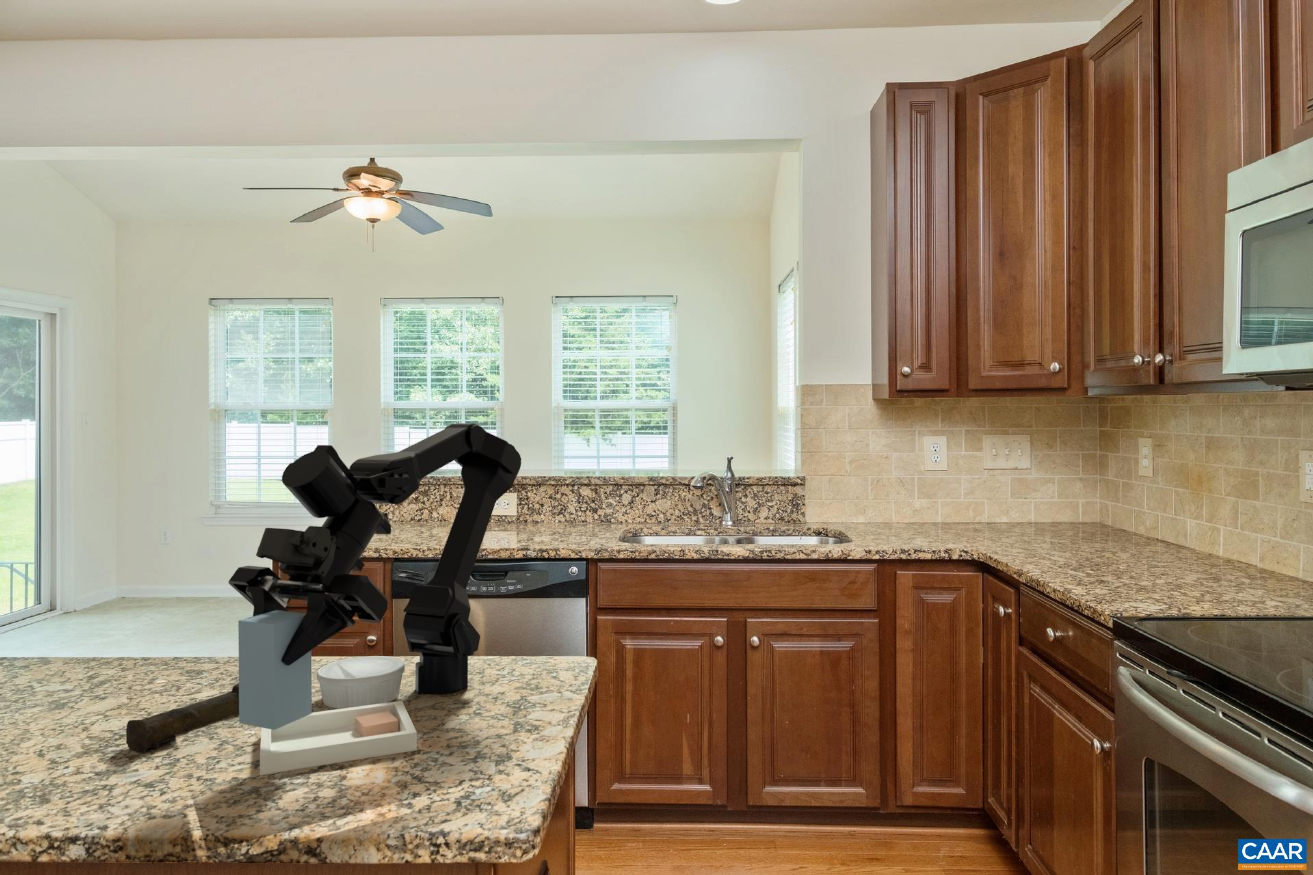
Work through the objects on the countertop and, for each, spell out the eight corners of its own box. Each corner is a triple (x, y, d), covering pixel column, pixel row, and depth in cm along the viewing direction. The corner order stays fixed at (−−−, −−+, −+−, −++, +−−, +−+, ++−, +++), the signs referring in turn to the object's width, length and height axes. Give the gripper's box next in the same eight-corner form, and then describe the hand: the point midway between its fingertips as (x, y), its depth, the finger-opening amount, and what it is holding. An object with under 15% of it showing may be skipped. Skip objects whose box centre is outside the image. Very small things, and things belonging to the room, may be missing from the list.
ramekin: (298, 712, 105) (298, 672, 105) (358, 688, 116) (358, 652, 116) (364, 723, 101) (364, 682, 101) (420, 697, 112) (421, 660, 112)
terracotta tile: (388, 722, 98) (388, 710, 98) (398, 732, 95) (398, 720, 95) (354, 729, 96) (355, 717, 96) (364, 739, 93) (364, 726, 93)
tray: (401, 724, 101) (401, 700, 101) (416, 758, 90) (416, 732, 90) (261, 744, 94) (262, 719, 94) (259, 784, 83) (259, 755, 83)
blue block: (277, 707, 89) (276, 610, 88) (311, 713, 87) (311, 613, 87) (239, 723, 84) (238, 620, 84) (274, 729, 82) (273, 624, 82)
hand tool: (141, 758, 90) (142, 717, 90) (123, 751, 92) (123, 711, 92) (290, 710, 107) (290, 675, 107) (271, 705, 109) (272, 671, 109)
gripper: (241, 496, 92) (152, 612, 82) (368, 502, 85) (288, 629, 75) (295, 553, 100) (220, 665, 90) (416, 562, 93) (349, 685, 83)
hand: (265, 660), depth 84 cm, fingers closed on blue block, 5 cm apart
